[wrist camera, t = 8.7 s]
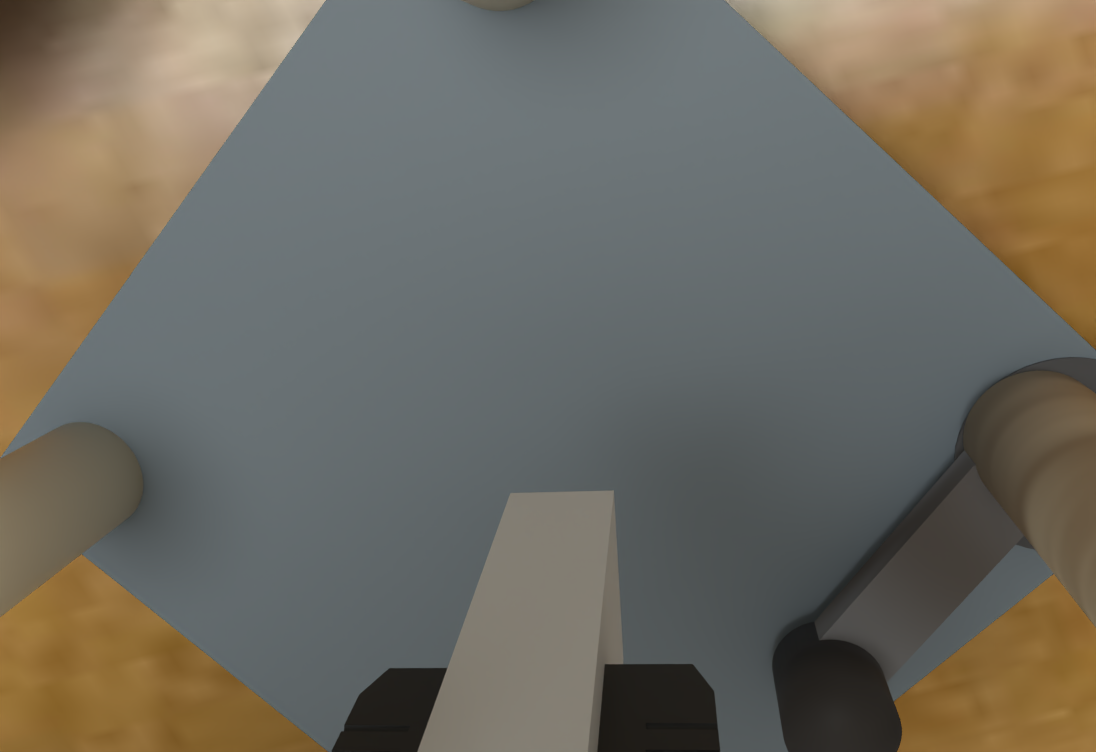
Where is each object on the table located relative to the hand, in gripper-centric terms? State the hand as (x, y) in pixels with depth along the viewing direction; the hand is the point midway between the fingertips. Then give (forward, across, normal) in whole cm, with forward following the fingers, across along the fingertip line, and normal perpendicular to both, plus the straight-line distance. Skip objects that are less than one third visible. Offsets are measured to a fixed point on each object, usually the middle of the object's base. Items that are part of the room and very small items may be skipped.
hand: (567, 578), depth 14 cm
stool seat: (+11, -1, -1) cm, 11 cm away
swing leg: (+7, +7, -3) cm, 11 cm away
